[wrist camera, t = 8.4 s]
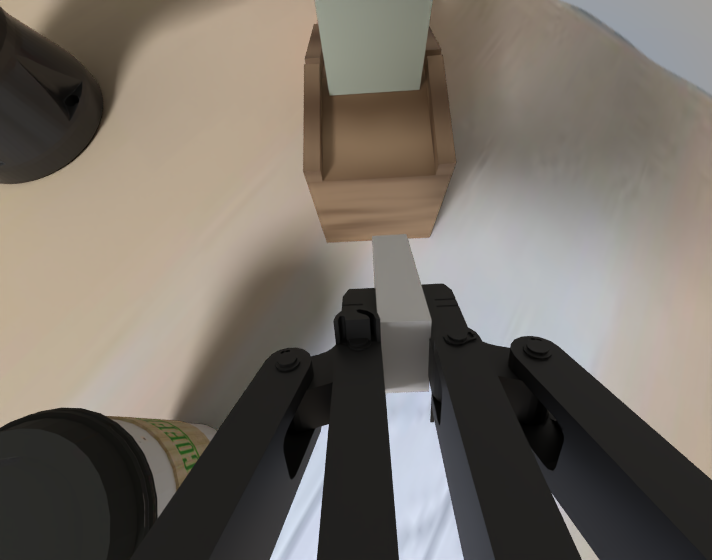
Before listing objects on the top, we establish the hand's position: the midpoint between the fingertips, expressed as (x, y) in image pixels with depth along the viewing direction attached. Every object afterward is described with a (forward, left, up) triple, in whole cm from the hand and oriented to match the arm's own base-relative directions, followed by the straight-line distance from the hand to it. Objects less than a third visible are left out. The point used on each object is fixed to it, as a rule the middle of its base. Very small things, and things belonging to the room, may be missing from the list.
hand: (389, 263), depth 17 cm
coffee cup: (-2, -19, -15) cm, 24 cm away
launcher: (-12, +10, -15) cm, 21 cm away
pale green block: (-11, +9, -5) cm, 15 cm away
